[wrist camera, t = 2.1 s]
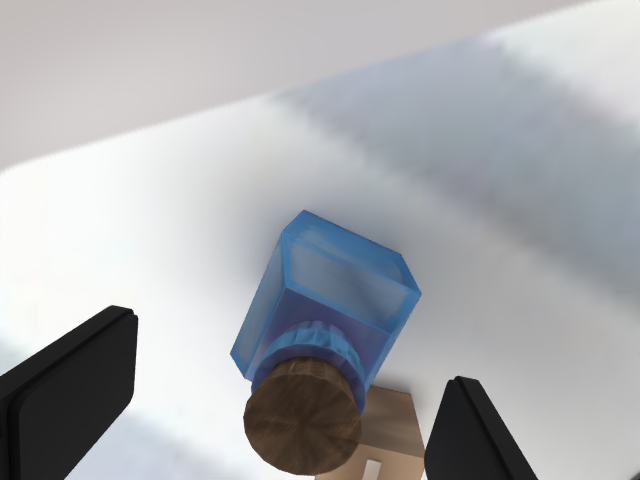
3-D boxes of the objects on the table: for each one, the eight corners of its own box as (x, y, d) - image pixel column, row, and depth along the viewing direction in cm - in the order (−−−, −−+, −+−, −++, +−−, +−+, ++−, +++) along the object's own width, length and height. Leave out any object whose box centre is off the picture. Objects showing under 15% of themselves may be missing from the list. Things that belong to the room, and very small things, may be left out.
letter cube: (410, 393, 22) (427, 461, 17) (392, 457, 23) (403, 537, 18) (333, 376, 22) (328, 438, 17) (319, 440, 23) (310, 515, 19)
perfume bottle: (354, 341, 22) (357, 552, 10) (264, 300, 22) (159, 463, 10) (401, 254, 20) (467, 382, 8) (303, 209, 20) (235, 276, 8)
